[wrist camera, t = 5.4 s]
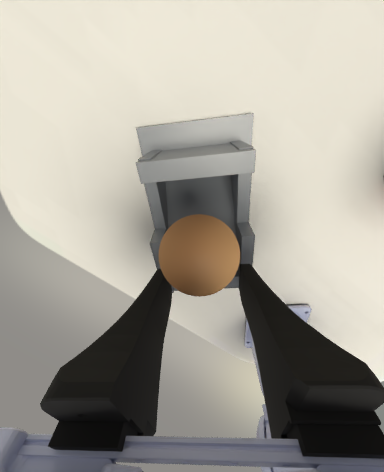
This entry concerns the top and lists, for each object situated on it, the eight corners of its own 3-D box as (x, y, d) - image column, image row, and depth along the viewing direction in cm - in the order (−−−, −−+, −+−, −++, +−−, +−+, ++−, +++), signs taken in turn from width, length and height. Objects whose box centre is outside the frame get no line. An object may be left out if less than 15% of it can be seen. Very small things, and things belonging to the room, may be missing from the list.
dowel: (225, 234, 14) (237, 212, 8) (228, 282, 14) (243, 295, 8) (179, 236, 14) (158, 216, 9) (180, 283, 14) (158, 296, 8)
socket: (243, 256, 20) (259, 302, 15) (167, 260, 21) (157, 306, 16) (251, 113, 13) (284, 109, 8) (138, 127, 14) (102, 132, 9)
